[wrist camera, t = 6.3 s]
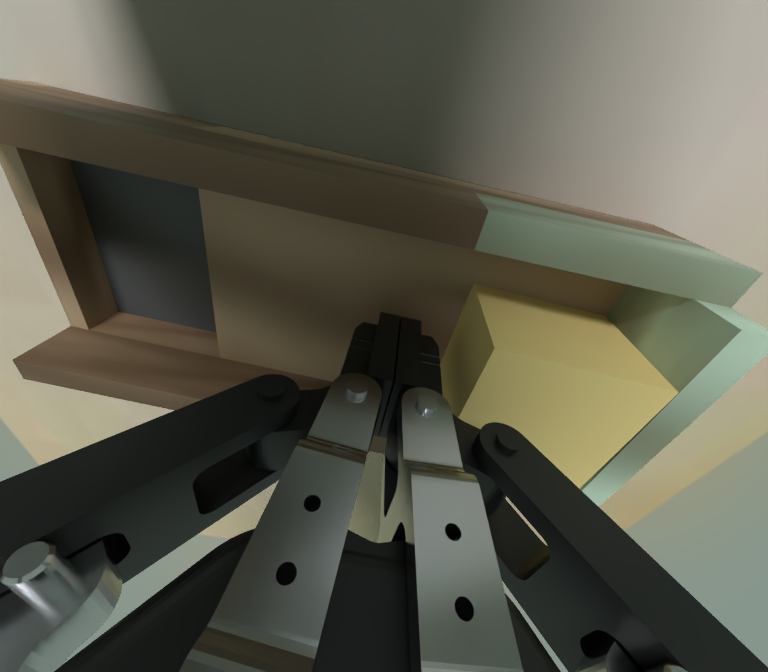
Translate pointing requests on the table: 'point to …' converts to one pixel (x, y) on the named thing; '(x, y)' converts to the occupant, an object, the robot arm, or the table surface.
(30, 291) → the table surface
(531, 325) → the ochre block
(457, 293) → the channel
